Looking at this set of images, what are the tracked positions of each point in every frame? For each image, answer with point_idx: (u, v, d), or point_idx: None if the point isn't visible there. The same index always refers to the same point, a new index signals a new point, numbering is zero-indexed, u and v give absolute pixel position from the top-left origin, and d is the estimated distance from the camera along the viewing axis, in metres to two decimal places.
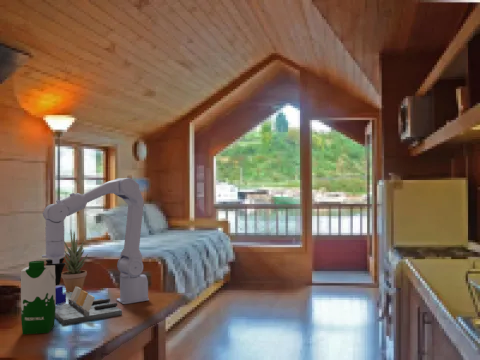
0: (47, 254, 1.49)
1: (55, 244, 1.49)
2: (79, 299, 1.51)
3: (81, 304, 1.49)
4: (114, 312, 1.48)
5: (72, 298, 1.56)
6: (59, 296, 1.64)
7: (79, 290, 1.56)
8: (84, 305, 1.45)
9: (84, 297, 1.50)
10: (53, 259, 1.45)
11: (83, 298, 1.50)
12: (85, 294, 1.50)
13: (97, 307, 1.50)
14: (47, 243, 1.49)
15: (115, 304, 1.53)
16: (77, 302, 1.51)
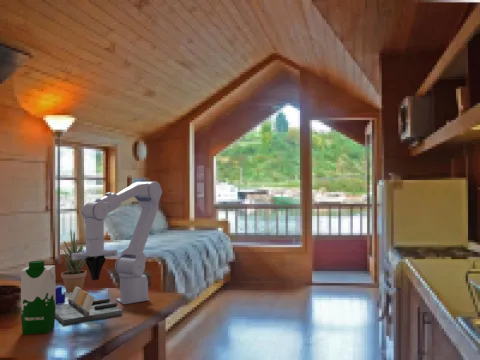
0: None
1: (86, 241, 1.52)
2: (79, 299, 1.51)
3: (81, 304, 1.49)
4: (114, 312, 1.48)
5: (72, 298, 1.56)
6: (58, 296, 1.63)
7: (79, 290, 1.56)
8: (84, 305, 1.45)
9: (84, 297, 1.50)
10: (72, 255, 1.50)
11: (83, 298, 1.50)
12: (85, 294, 1.50)
13: (97, 307, 1.50)
14: None
15: (115, 304, 1.53)
16: (77, 302, 1.51)
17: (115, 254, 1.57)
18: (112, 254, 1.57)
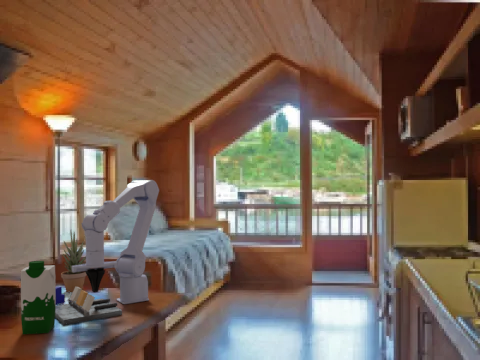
0: None
1: (86, 253, 1.52)
2: (79, 299, 1.51)
3: (81, 304, 1.49)
4: (114, 312, 1.48)
5: (72, 298, 1.56)
6: (57, 296, 1.63)
7: (79, 290, 1.56)
8: (84, 305, 1.45)
9: (84, 297, 1.50)
10: (72, 267, 1.50)
11: (83, 298, 1.50)
12: (85, 294, 1.50)
13: (97, 307, 1.50)
14: None
15: (115, 304, 1.53)
16: (77, 302, 1.51)
17: (115, 266, 1.57)
18: (112, 266, 1.57)
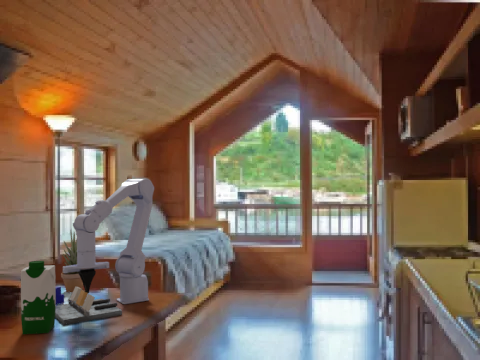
0: None
1: (77, 254, 1.50)
2: (79, 299, 1.51)
3: (81, 304, 1.49)
4: (114, 312, 1.48)
5: (72, 298, 1.56)
6: (57, 296, 1.63)
7: (79, 290, 1.56)
8: (84, 305, 1.45)
9: (84, 297, 1.50)
10: (63, 268, 1.48)
11: (83, 298, 1.50)
12: (85, 294, 1.50)
13: (97, 307, 1.50)
14: None
15: (115, 304, 1.53)
16: (77, 302, 1.51)
17: (107, 266, 1.55)
18: (104, 266, 1.55)
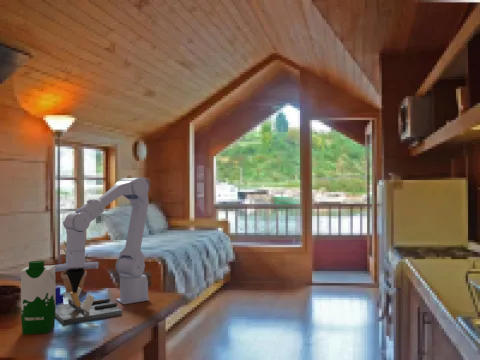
0: None
1: (66, 253, 1.49)
2: (74, 301, 1.50)
3: (79, 304, 1.49)
4: (114, 312, 1.48)
5: None
6: (56, 296, 1.62)
7: (79, 290, 1.56)
8: (84, 305, 1.45)
9: (76, 298, 1.48)
10: None
11: (76, 299, 1.48)
12: (75, 295, 1.48)
13: (97, 307, 1.50)
14: None
15: (115, 304, 1.53)
16: (75, 304, 1.50)
17: (96, 267, 1.53)
18: (93, 267, 1.53)
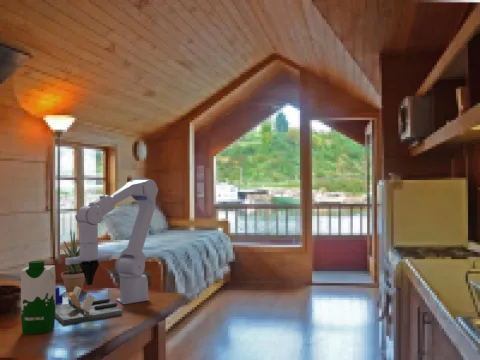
0: None
1: (80, 246, 1.51)
2: (73, 302, 1.50)
3: (78, 304, 1.49)
4: (114, 312, 1.48)
5: None
6: None
7: (79, 290, 1.56)
8: (84, 305, 1.45)
9: (75, 298, 1.48)
10: (65, 260, 1.49)
11: (75, 300, 1.48)
12: (73, 296, 1.48)
13: (97, 307, 1.50)
14: None
15: (115, 304, 1.53)
16: (74, 304, 1.50)
17: (109, 258, 1.56)
18: (106, 258, 1.56)
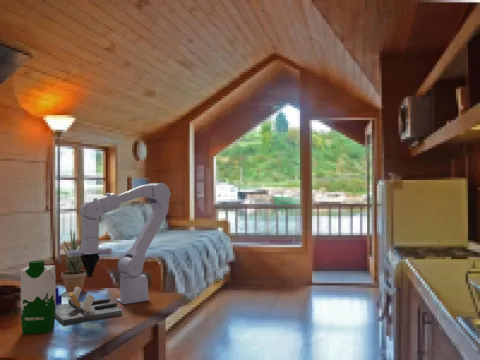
0: None
1: (81, 239, 1.57)
2: (73, 302, 1.50)
3: (78, 304, 1.49)
4: (114, 312, 1.48)
5: None
6: None
7: (79, 290, 1.56)
8: (84, 305, 1.45)
9: (75, 299, 1.48)
10: (67, 252, 1.55)
11: (75, 300, 1.48)
12: (73, 296, 1.48)
13: (97, 307, 1.50)
14: None
15: (115, 304, 1.53)
16: (74, 304, 1.50)
17: (109, 252, 1.62)
18: (106, 252, 1.62)
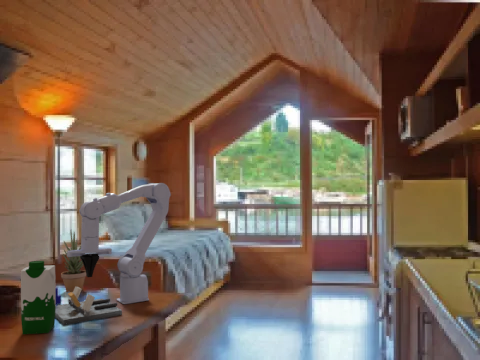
0: None
1: (81, 239, 1.57)
2: (73, 302, 1.50)
3: (78, 304, 1.49)
4: (114, 312, 1.48)
5: None
6: None
7: (79, 290, 1.56)
8: (84, 305, 1.45)
9: (75, 299, 1.48)
10: (67, 252, 1.55)
11: (75, 300, 1.48)
12: (73, 296, 1.48)
13: (97, 307, 1.50)
14: None
15: (115, 304, 1.53)
16: (74, 304, 1.50)
17: (109, 252, 1.62)
18: (106, 252, 1.62)
